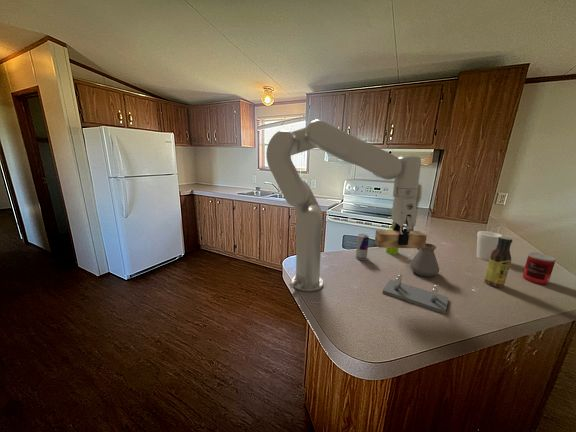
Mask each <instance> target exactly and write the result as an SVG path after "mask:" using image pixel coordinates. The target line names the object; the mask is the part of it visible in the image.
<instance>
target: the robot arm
mask: <svg viewBox="0 0 576 432" xmlns="http://www.w3.org/2000/svg"><path fill="white" fill-rule="evenodd" d="M316 148H318V149H320V150H321V151H324V152H325V153H328V154H330V155H332V156H334V157H335V158H338V159H339V160H342V161H344V162H346V163H348V164H353V165H355V166H358V167H360V168H362V169H364V170H366V171H367V172H370V173H372V174H373V176H375V177H377V178H380V179H383V180H389V181H391V180H394V182H393V192H392V197H393V202H392V208H391V216H392V219H391V220H392V222H393V230H394V231H400V234H399V239H398V244H399V245H408V239H409V234H410V231H413V227H416V221H417V209H418V208H417V198H418V190H419V189H418V188H419V181H420V175H421V174H420V173H421V166H422V158H421V157H420V156H418V155H417V156H415V155H411V156H410V155H407V156H405V155H403V156H398V157H397V156H396V155H394V154H392V153H390V152H388V151H386V150H385V149H382V148H380V147H378V146H376V145H374V144H371V143H369V142H366V141H365V140H362V139H360V138H359V137H356V136H354V135H352V134H350V133H349V132H346V131H344V130H342V129H340V128H338V127H336V126H334V125H332V124H330V123H328V122H326V121H324V120H321V119H315V120H312V121H310V122H309V123H308V124H307V125H306V127H302V128H299V129H297V130H293V131H291V130H287V129H282V130H278V131H276V132H275V134H274V135H273V136H272V137H271V138H270V139H269V141H268V145H267V147H266V161H267V162H266V163H267V164H268V168H269V171H270V172H271V174H272V176H273V178H274V179H275V182H276V184H277V186H278V187H279V189H280V191H281V193H282V195H283V198H284V200H285V201H286V203H287V204H289V206H291V207H294V210H295V211H296V213H297V216H296V219H295V231H296V233H295V234H296V242H295V243H296V244H295V245H296V246H295V247H296V254H295V255H296V256H295V259H296V260H295V275H294V277H292V279H291V282H289V287H290V288H291V289H293V288H295V289H297V290H299V291H301V292H302V291H303V292H308V293H309V292H316V291H319V290H320V289H322V288H323V286H324V280H323V278H322V277H321V273H320V272H321V258H322V257H321V253H322V233H323V213H322V212H323V211H322V209H321V207H320V204H319V203H318V201H317V199H316V197H315V195H314V193H313V192H312V189H311V187H310V185H309V184H308V182H306V181H305V180H303V179H302V177H301V176H300V174H299V173H298V169H296V166H295V164H294V163H293V161H292V160H293V159H292V156H294V155H298V154H300V153H303V152H306V151H310V150H314V149H316Z"/></svg>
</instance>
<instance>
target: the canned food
mask: <svg viewBox="0 0 576 432" xmlns="http://www.w3.org/2000/svg"><path fill="white" fill-rule="evenodd" d="M555 264H556V258H555V257H553V256H551V255H548V254H545V253H539V252H530V253H528V256H527V257H526V262H525V266H524V268H523V269H524V270H523V272H522V273H523V274H522V278H523V279H524V280H525V281H527V282H529V283H533V284H534V285H535V284H536V285H541V286H544V285H545V286H546V285H547V284H549V281H550V279H551V276H552V273H553V269H554V267H555Z"/></svg>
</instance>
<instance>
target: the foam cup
mask: <svg viewBox="0 0 576 432" xmlns="http://www.w3.org/2000/svg"><path fill="white" fill-rule="evenodd" d="M476 237H477V238H476V239H477V242H476V257H477V258H478V259H481V260H484V261H489V259H490V257H491V253H492V251H493V250H494V249H496V248H497V245H498V238H499V237H504V236H503V235H502V234H501V233H498V232H497V233H496V232H494V231H488V230H487V231H486V230H479V231H477V235H476Z"/></svg>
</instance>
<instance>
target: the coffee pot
mask: <svg viewBox="0 0 576 432" xmlns="http://www.w3.org/2000/svg"><path fill="white" fill-rule="evenodd" d="M415 249H417V250H418V251H417V253H416V254H415V255H414V257H413V258H412V260H411V261H410V262H409V266H410V269H412V271H413V272H414V273H415V274H417V275H419V276H421V277H429V278H430V277H433V276H434V275H435V276H436V275H437V274H438V273H439V272H440V266H439V263H438V261H437V257H436V254H435V250H436V249H437V246H436V244H432V243H427V242H426V244H425V249H420V248H415Z"/></svg>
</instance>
